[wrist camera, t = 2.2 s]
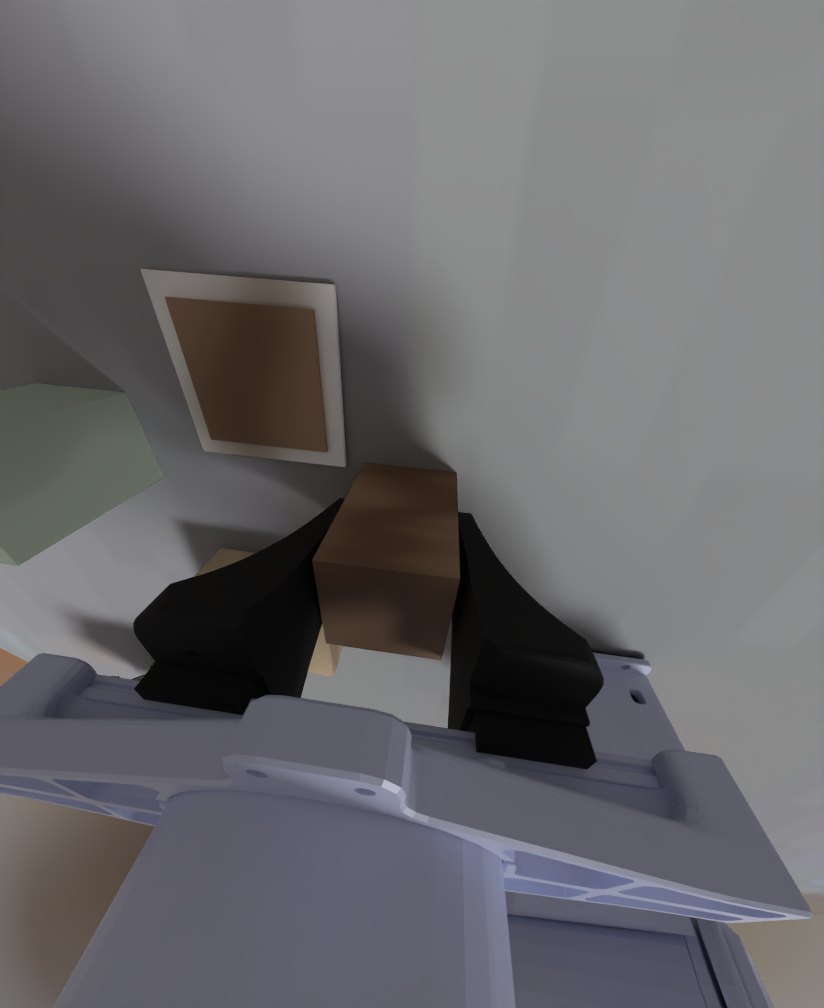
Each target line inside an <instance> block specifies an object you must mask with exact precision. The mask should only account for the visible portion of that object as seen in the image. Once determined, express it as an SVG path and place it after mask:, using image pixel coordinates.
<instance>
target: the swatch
mask: <svg viewBox="0 0 824 1008" xmlns="http://www.w3.org/2000/svg"><path fill="white" fill-rule="evenodd" d="M140 270H141V273H142V276H143V278H144V281H145V284H146V287H147V290H148V293H149V296H150V299H151V301H152V304H153V307H154V310H155V313H156V316H157V319H158V322H159V324H160V327H161V330H162V333H163V336H164V339H165V342H166V344H167V347H168V350H169V353H170V356H171V359H172V362H173V365H174V367H175V370H176V373H177V376H178V379H179V382H180V385H181V388H182V390H183V393H184V396H185V399H186V402H187V405H188V408H189V411H190V413H191V416H192V419H193V422H194V425H195V428H196V431H197V433H198V436H199V439H200V442H201V445H202V448H203V451H206V452H215V453H223V454H232V455H241V456H250V457H259V458H268V459H277V460H285V461H294V462H303V463H312V464H321V465H330V466H339V467H346V465H347V464H346V447H345V431H344V414H343V397H342V381H341V364H340V347H339V331H338V314H337V297H336V285H333V284H320V283H308V282H296V281H284V280H272V279H259V278H247V277H235V276H223V275H211V274H199V273H186V272H174V271H162V270H150V269H140Z"/></svg>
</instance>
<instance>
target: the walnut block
mask: <svg viewBox="0 0 824 1008" xmlns="http://www.w3.org/2000/svg"><path fill="white" fill-rule="evenodd" d="M312 563H313V569H314V575H315V581H316V587H317V593H318V599H319V605H320V611H321V617H322V623H323V629H324V635H325V641H326V644H333V645H340V646H347V647H354V648H361V649H368V650H375V651H382V652H389V653H396V654H403V655H409V656H416V657H423V658H430V659H437V660H442V655H443V651H444V647H445V642H446V638H447V634H448V629H449V625H450V621H451V617H452V612H453V608H454V604H455V599H456V595H457V591H458V587H459V582H460V559H459V529H458V498H457V473H454V472H445V471H436V470H427V469H418V468H409V467H400V466H391V465H382V464H373V463H364V465H363V467H362V469H361V470H360V472H359V474H358V476H357V478H356V480H355V481H354V483H353V485H352V487H351V489H350V491H349V493H348V494H347V496H346V498H345V500H344V502H343V504H342V506H341V507H340V509H339V511H338V513H337V515H336V517H335V519H334V520H333V522H332V524H331V526H330V528H329V530H328V532H327V533H326V535H325V537H324V539H323V541H322V543H321V545H320V546H319V548H318V550H317V552H316V554H315V556H314V558H313V559H312Z"/></svg>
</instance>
